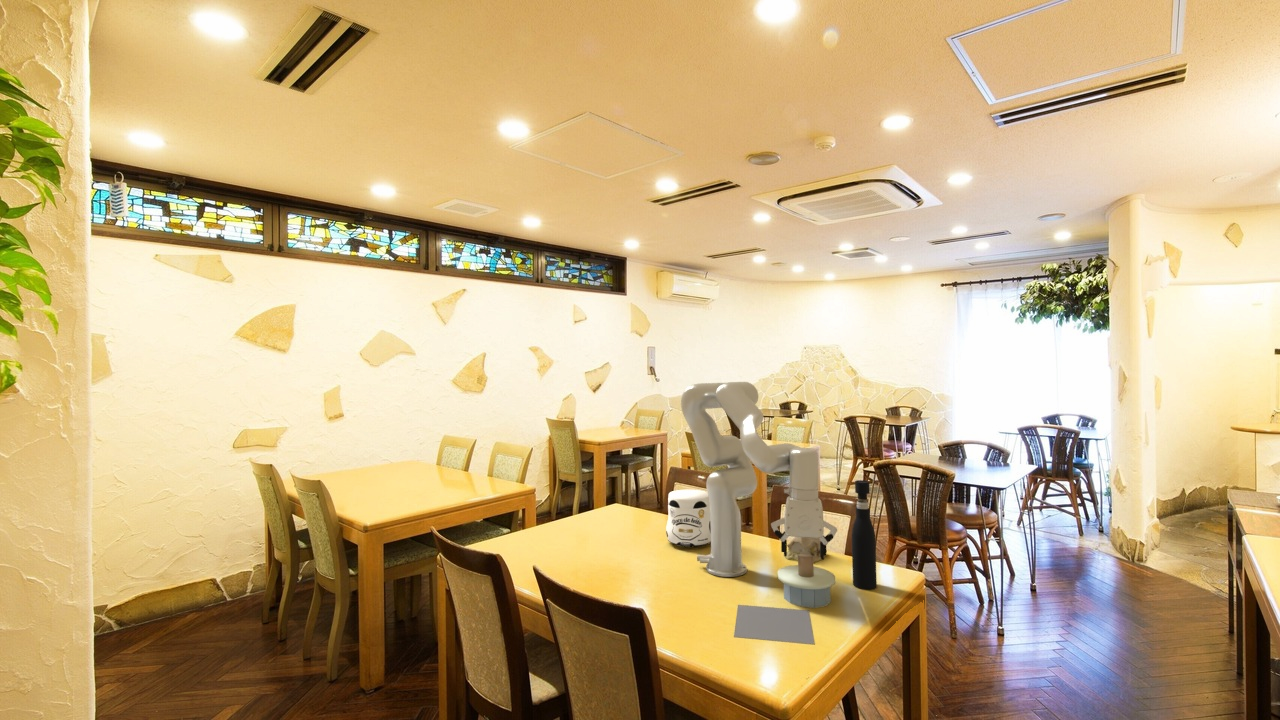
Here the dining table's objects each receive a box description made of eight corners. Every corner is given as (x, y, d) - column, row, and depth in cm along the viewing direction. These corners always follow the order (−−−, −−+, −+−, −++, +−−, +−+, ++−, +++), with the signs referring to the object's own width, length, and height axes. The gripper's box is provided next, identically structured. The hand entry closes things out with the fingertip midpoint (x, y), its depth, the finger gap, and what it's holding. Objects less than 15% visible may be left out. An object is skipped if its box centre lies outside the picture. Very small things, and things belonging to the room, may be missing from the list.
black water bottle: (848, 581, 161) (846, 479, 162) (869, 580, 162) (867, 479, 163) (859, 590, 155) (856, 484, 156) (881, 589, 156) (878, 483, 156)
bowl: (784, 608, 144) (784, 585, 144) (783, 590, 156) (782, 569, 156) (832, 612, 142) (832, 588, 142) (827, 593, 153) (827, 572, 153)
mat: (733, 640, 128) (733, 636, 128) (737, 607, 145) (737, 604, 145) (814, 647, 123) (814, 644, 123) (808, 613, 141) (808, 610, 141)
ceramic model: (806, 566, 176) (806, 534, 176) (778, 557, 185) (778, 527, 185) (832, 556, 184) (831, 526, 184) (804, 548, 193) (803, 519, 193)
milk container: (678, 553, 189) (677, 501, 189) (658, 539, 205) (658, 491, 206) (722, 547, 195) (721, 496, 196) (700, 534, 211) (699, 487, 212)
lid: (778, 587, 143) (777, 563, 143) (777, 567, 158) (776, 546, 158) (838, 591, 140) (838, 567, 140) (832, 570, 154) (831, 549, 155)
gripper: (771, 495, 148) (771, 558, 148) (838, 499, 144) (838, 564, 144) (771, 488, 155) (770, 549, 155) (835, 492, 151) (835, 554, 151)
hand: (803, 556), depth 150 cm, fingers open, 9 cm apart
